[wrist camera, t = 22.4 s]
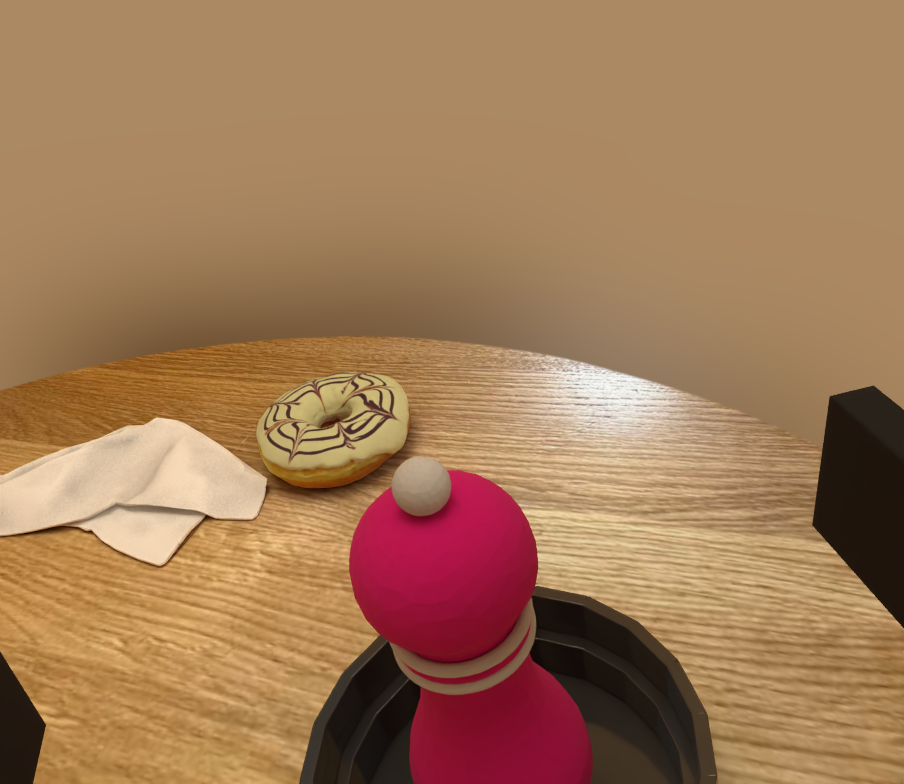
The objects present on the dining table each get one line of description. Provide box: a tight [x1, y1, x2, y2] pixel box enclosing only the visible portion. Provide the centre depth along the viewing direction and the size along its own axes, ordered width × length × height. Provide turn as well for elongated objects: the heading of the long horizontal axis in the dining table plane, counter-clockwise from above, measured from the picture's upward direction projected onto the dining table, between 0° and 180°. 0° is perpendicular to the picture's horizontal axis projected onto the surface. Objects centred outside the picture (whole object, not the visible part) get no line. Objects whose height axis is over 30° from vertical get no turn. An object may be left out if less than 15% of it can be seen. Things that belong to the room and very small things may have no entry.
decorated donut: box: [256, 372, 410, 488], centre depth 59 cm, size 10×11×4 cm
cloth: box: [0, 418, 267, 566], centre depth 61 cm, size 26×14×2 cm, turn 69°
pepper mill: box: [349, 456, 593, 784], centre depth 30 cm, size 7×7×20 cm
